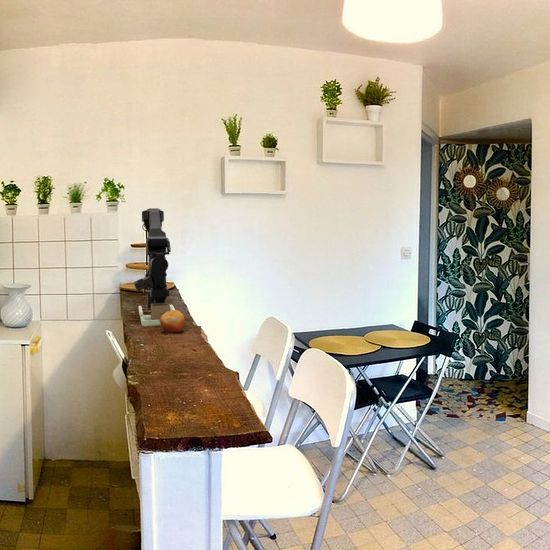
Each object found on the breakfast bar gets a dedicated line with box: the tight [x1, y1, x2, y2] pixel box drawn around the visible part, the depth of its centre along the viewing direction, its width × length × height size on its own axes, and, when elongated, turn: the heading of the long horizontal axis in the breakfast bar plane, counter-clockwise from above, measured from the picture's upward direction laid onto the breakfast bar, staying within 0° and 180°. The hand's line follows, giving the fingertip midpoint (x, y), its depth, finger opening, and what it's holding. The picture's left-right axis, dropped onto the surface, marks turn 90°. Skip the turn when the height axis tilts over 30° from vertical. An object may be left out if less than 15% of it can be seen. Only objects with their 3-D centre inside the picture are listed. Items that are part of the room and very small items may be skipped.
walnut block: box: [150, 302, 171, 320], centre depth 179 cm, size 6×6×6 cm
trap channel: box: [138, 304, 176, 327], centre depth 189 cm, size 30×13×2 cm, turn 17°
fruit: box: [160, 309, 186, 334], centre depth 168 cm, size 8×8×8 cm
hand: (158, 312), depth 186 cm, fingers closed
